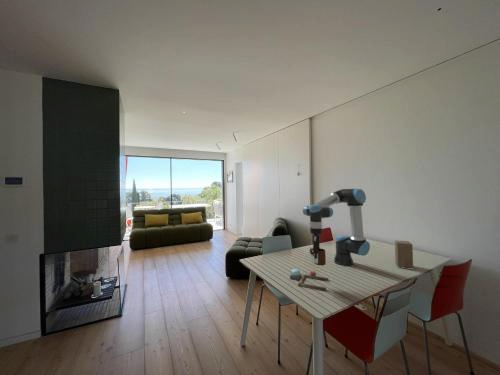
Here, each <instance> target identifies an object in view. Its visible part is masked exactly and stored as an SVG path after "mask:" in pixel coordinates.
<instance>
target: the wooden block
mask: <svg viewBox="0 0 500 375" xmlns="http://www.w3.org/2000/svg"><path fill="white" fill-rule="evenodd" d="M413 248H414V247H413V243H412V242H410V241H409V240H408V241H407V240H397V239H396V240H394V253H395V254H394V259H395V260H394V262H395V263H394V264H395V265H396V267H397V266H398V267H404V268H403V269H405V268H413V269H414V257H413V256H414V254H413V253H414V252H413V251H414V250H413ZM398 267H397V268H398Z"/></svg>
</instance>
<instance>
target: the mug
mask: <svg viewBox="0 0 500 375" xmlns="http://www.w3.org/2000/svg"><path fill="white" fill-rule="evenodd" d="M312 252H313V247H312V248H311V247H310V249H309V253H310V255H311V256H313V257H314V253H312ZM326 258H327V257H326V249H324V248H321V247H320V248H318V263H314V264H315V265H316V266H326V263H327V262H326V261H327V260H326Z"/></svg>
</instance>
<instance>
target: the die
mask: <svg viewBox="0 0 500 375" xmlns="http://www.w3.org/2000/svg"><path fill="white" fill-rule="evenodd" d="M309 275H312V276H317V272H316V271H315V270H309Z"/></svg>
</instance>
